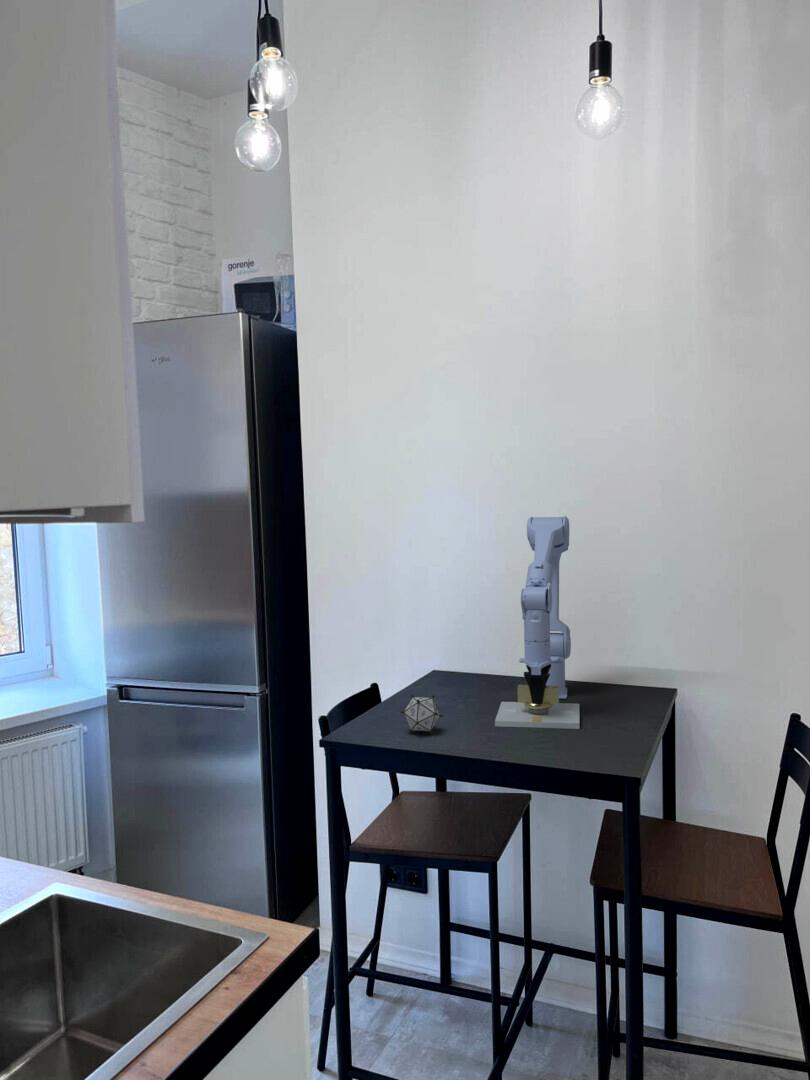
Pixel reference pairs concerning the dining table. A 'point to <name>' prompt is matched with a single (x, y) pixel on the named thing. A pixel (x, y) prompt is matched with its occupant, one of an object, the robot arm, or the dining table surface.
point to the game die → (421, 714)
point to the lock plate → (538, 716)
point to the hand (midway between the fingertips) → (538, 699)
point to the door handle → (549, 698)
